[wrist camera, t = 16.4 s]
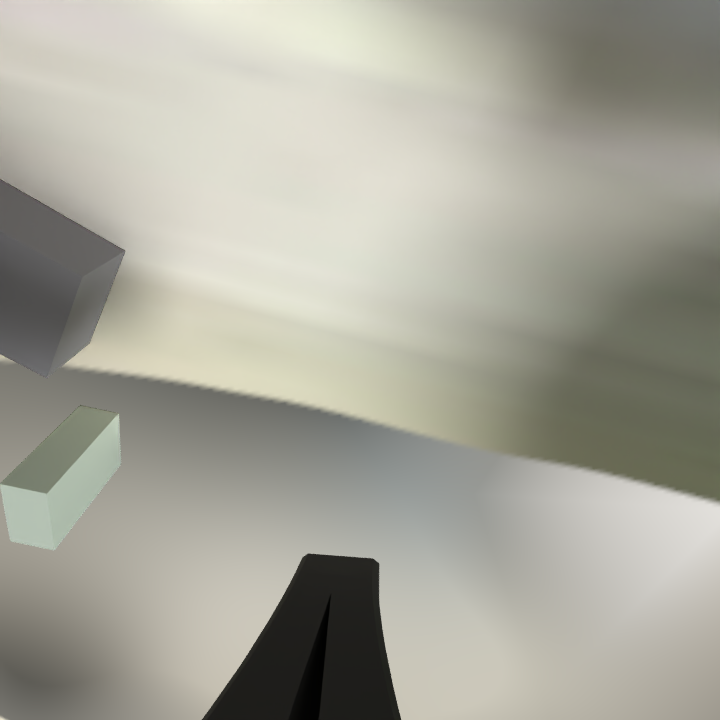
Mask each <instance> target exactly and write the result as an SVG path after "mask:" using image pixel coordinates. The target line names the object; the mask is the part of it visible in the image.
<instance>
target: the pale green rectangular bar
mask: <svg viewBox="0 0 720 720" xmlns="http://www.w3.org/2000/svg"><path fill="white" fill-rule="evenodd" d="M120 452H121V451H120V430H119V413H115V412H110V411H105V410H100V409H96V408H91V407H86V406H82V405H80V406H79V407H78V408H77V409H76V410H75V411H74V412H73V413H72V414H71V415H70V416H69V417H68V418H67V419H66V420H65V421H64V422H63V423H62V424H60V425H59V427H57V428H56V429H55V430H54V431H53V432H52V433H51V434H50V435H49V436H48V437H47V438H46V439H45V440H44V441H43V442H42V443H41V444H40V445H39V446H38V447H37V448H36V449H35V450H34V451H33V452H32V453H31V454H30V455H29V456H28V457H27V458H26V459H25V460H24V461H23V462H21V464H19V465H18V466H17V467H16V468H15V469H14V470H13V471H12V472H11V473H10V474H9V475H8V476H7V477H6V478H5V479H4V480H3V481H2V482H1V483H0V489H1V494H2V500H3V505H4V510H5V515H6V521H7V526H8V532H9V537H10V541H13V542H18V543H22V544H27V545H31V546H36V547H41V548H45V549H50V550H55V549H56V548H57V546H58V545H59V543H61V541H62V540H63V539H64V537H65V536H66V535H67V534H68V532H69V531H70V530H71V528H72V527H73V526H74V524H75V523H76V522H77V521H78V519H79V518H80V517H81V515H82V514H83V513H84V511H85V510H86V509H87V508H88V506H89V505H90V504H91V502H92V501H93V500H94V499H95V497H96V496H97V495H98V493H99V492H100V491H101V489H102V488H103V487H104V486H105V484H106V483H107V482H108V480H109V479H110V478H111V477H112V475H113V474H114V473H115V471H116V470H117V469H118V467H119V466H120V465H121V453H120Z"/></svg>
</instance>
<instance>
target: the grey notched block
mask: <svg viewBox="0 0 720 720" xmlns="http://www.w3.org/2000/svg"><path fill="white" fill-rule="evenodd" d="M124 253H125V251H124V250H123V249H121V248H119V247H117V246H116V245H114V244H112V243H110V242H109V241H107V240H105V239H103V238H102V237H100V236H98V235H96V234H95V233H93V232H91V231H89V230H88V229H86V228H84V227H82V226H81V225H79V224H77V223H75V222H74V221H72V220H70V219H68V218H67V217H65V216H63V215H61V214H60V213H58V212H56V211H54V210H53V209H51V208H49V207H47V206H46V205H44V204H42V203H40V202H39V201H37V200H35V199H34V198H32V197H30V196H28V195H27V194H25V193H23V192H21V191H20V190H18V189H16V188H14V187H13V186H11V185H9V184H7V183H6V182H4V181H2V180H0V354H1V355H3V356H5V357H7V358H9V359H11V360H13V361H15V362H16V363H18V364H20V365H22V366H24V367H26V368H28V369H30V370H32V371H34V372H36V373H38V374H40V375H41V376H43V377H45V378H48V377H49V376H50V375H51V374H53V373H54V372H55V371H56V370H57V369H59V368H60V367H61V366H62V365H64V364H65V363H66V362H67V361H69V360H70V359H71V358H72V357H73V356H75V355H76V354H77V353H78V352H80V351H81V350H82V349H83V348H84V347H86V346H87V345H88V344H89V343H90V341H91V338H92V335H93V333H94V330H95V328H96V325H97V323H98V320H99V317H100V315H101V312H102V310H103V307H104V304H105V302H106V299H107V297H108V294H109V291H110V289H111V286H112V284H113V281H114V279H115V276H116V273H117V271H118V268H119V266H120V263H121V260H122V258H123V255H124Z"/></svg>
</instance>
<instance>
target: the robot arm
mask: <svg viewBox="0 0 720 720" xmlns="http://www.w3.org/2000/svg"><path fill="white" fill-rule="evenodd" d="M202 720H401V717H400V713H399V709H398V706H397V701H396V697H395V692H394V688H393V684H392V679H391V673H390V668H389V664H388V659H387V653H386V649H385V643H384V637H383V630H382V623H381V615H380V607H379V563H378V562H376V561H375V560H374V559H371V558H358V557H345V556H332V555H319V554H307V555H306V556H304V557H303V558H302V560H301V562H300V564H299V566H298V568H297V570H296V573H295V574H294V576H293V578H292V580H291V583H290V584H289V586H288V588H287V590H286V592H285V594H284V595H283V597H282V599H281V601H280V602H279V604H278V606H277V607H276V609H275V611H274V613H273V615H272V616H271V618H270V620H269V621H268V623H267V624H266V626H265V628H264V629H263V631H262V632H261V634H260V636H259V637H258V639H257V640H256V642H255V643H254V645H253V647H252V648H251V650H250V651H249V653H248V655H247V656H246V658H245V659H244V661H243V662H242V664H241V665H240V667H239V668H238V670H237V671H236V673H235V674H234V675H233V677H232V678H231V680H230V681H229V683H228V684H227V685H226V687H225V688H224V690H223V691H222V692H221V694H220V695H219V697H218V698H217V700H216V701H215V702H214V704H213V705H212V707H211V708H210V710H209V711H208V712H207V714H206V715H205V716H204V718H203V719H202Z"/></svg>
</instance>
